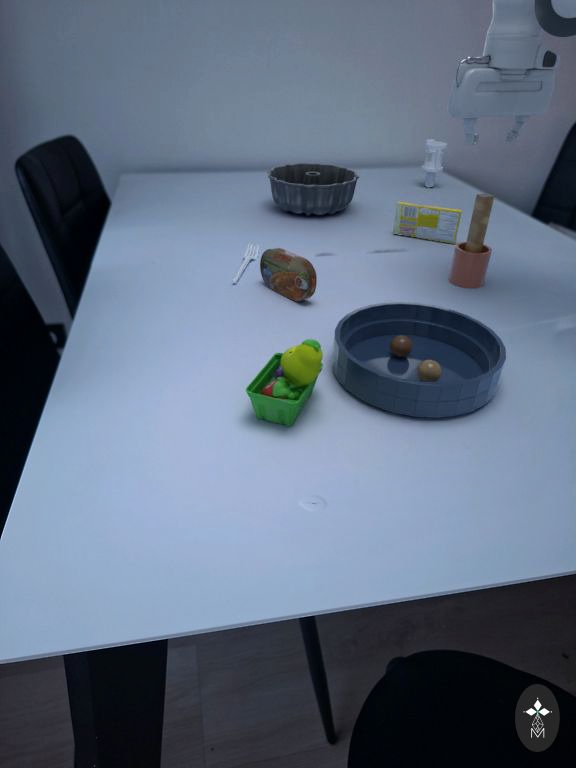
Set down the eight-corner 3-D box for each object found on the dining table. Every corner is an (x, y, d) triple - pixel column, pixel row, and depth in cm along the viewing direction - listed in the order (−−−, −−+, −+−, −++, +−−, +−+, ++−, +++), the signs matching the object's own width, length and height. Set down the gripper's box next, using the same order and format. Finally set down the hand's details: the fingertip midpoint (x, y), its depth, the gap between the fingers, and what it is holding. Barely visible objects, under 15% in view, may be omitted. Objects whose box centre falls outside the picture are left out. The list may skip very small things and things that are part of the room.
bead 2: (430, 373, 83) (434, 353, 81) (444, 385, 81) (448, 365, 79) (410, 377, 82) (414, 357, 80) (423, 389, 79) (427, 369, 77)
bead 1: (403, 348, 89) (406, 329, 87) (414, 359, 87) (418, 340, 85) (384, 352, 88) (387, 333, 86) (395, 363, 86) (399, 343, 84)
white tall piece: (415, 184, 185) (422, 137, 176) (434, 184, 186) (442, 137, 178) (423, 189, 179) (431, 141, 171) (442, 189, 180) (451, 141, 172)
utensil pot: (468, 275, 118) (476, 240, 114) (490, 288, 113) (499, 251, 108) (441, 279, 116) (448, 244, 111) (462, 292, 110) (470, 255, 106)
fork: (226, 284, 111) (226, 275, 110) (247, 251, 128) (247, 243, 127) (241, 285, 111) (241, 277, 110) (260, 252, 127) (260, 244, 126)
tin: (258, 283, 112) (258, 244, 107) (270, 279, 114) (270, 241, 109) (306, 308, 103) (308, 266, 98) (318, 303, 104) (320, 262, 100)
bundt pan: (329, 227, 144) (332, 189, 138) (249, 210, 155) (249, 174, 149) (370, 205, 162) (373, 170, 157) (296, 191, 174) (297, 159, 168)
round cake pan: (433, 323, 99) (439, 293, 95) (532, 399, 79) (544, 365, 76) (307, 346, 91) (308, 314, 87) (382, 437, 71) (388, 401, 68)
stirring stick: (467, 278, 115) (486, 193, 105) (474, 282, 113) (494, 196, 103) (458, 279, 114) (476, 194, 104) (465, 284, 113) (484, 197, 102)
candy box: (456, 242, 136) (462, 209, 132) (454, 244, 135) (461, 211, 130) (394, 232, 142) (398, 200, 137) (392, 234, 140) (396, 202, 135)
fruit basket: (275, 379, 82) (276, 313, 76) (330, 392, 79) (336, 325, 73) (244, 421, 73) (242, 350, 67) (304, 437, 71) (308, 365, 64)
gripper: (471, 56, 85) (455, 149, 93) (568, 56, 92) (545, 143, 99) (447, 55, 90) (434, 143, 98) (541, 54, 96) (521, 137, 104)
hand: (491, 143), depth 99 cm, fingers open, 8 cm apart
